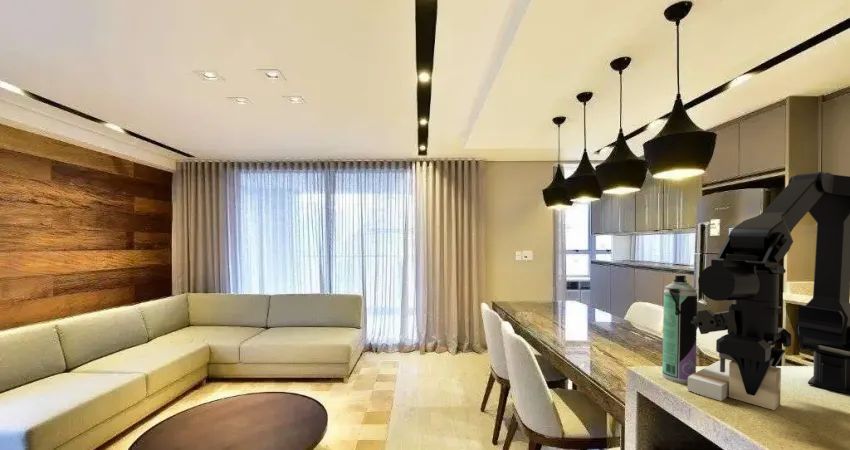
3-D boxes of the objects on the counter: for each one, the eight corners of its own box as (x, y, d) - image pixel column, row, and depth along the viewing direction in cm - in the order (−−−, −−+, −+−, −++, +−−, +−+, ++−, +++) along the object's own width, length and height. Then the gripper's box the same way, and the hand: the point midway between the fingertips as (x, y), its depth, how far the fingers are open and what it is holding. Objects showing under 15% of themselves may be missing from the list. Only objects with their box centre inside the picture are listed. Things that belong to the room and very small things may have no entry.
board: (720, 371, 82) (720, 358, 82) (751, 379, 78) (751, 365, 78) (687, 391, 71) (687, 376, 71) (721, 401, 67) (721, 385, 67)
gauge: (722, 388, 72) (723, 351, 72) (780, 404, 66) (781, 363, 66) (715, 393, 70) (716, 354, 70) (774, 410, 63) (775, 367, 64)
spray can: (697, 385, 73) (699, 277, 74) (662, 379, 76) (664, 275, 76) (694, 377, 78) (696, 275, 78) (661, 371, 81) (664, 273, 81)
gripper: (717, 289, 79) (716, 368, 79) (681, 296, 68) (679, 387, 68) (792, 298, 71) (790, 386, 70) (765, 307, 59) (763, 412, 59)
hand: (754, 391), depth 67 cm, fingers closed on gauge, 4 cm apart
